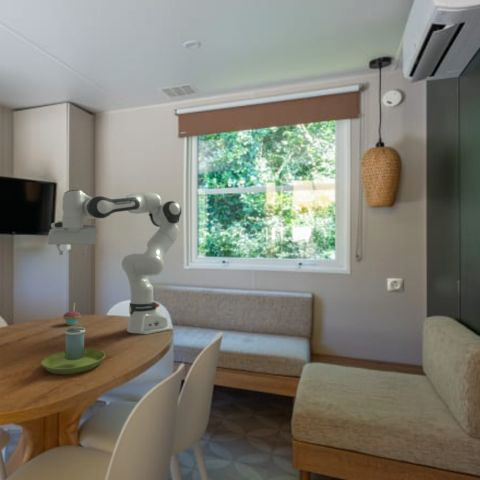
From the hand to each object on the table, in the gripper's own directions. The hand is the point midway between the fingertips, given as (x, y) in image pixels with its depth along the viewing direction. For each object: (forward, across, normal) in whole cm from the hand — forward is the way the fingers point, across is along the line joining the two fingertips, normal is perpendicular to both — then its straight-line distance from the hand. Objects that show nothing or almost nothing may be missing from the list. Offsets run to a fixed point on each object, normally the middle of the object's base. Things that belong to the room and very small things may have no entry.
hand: (72, 254), depth 150 cm
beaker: (+36, +1, +36) cm, 51 cm away
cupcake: (+39, -2, -29) cm, 49 cm away
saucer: (+40, +1, +36) cm, 54 cm away
